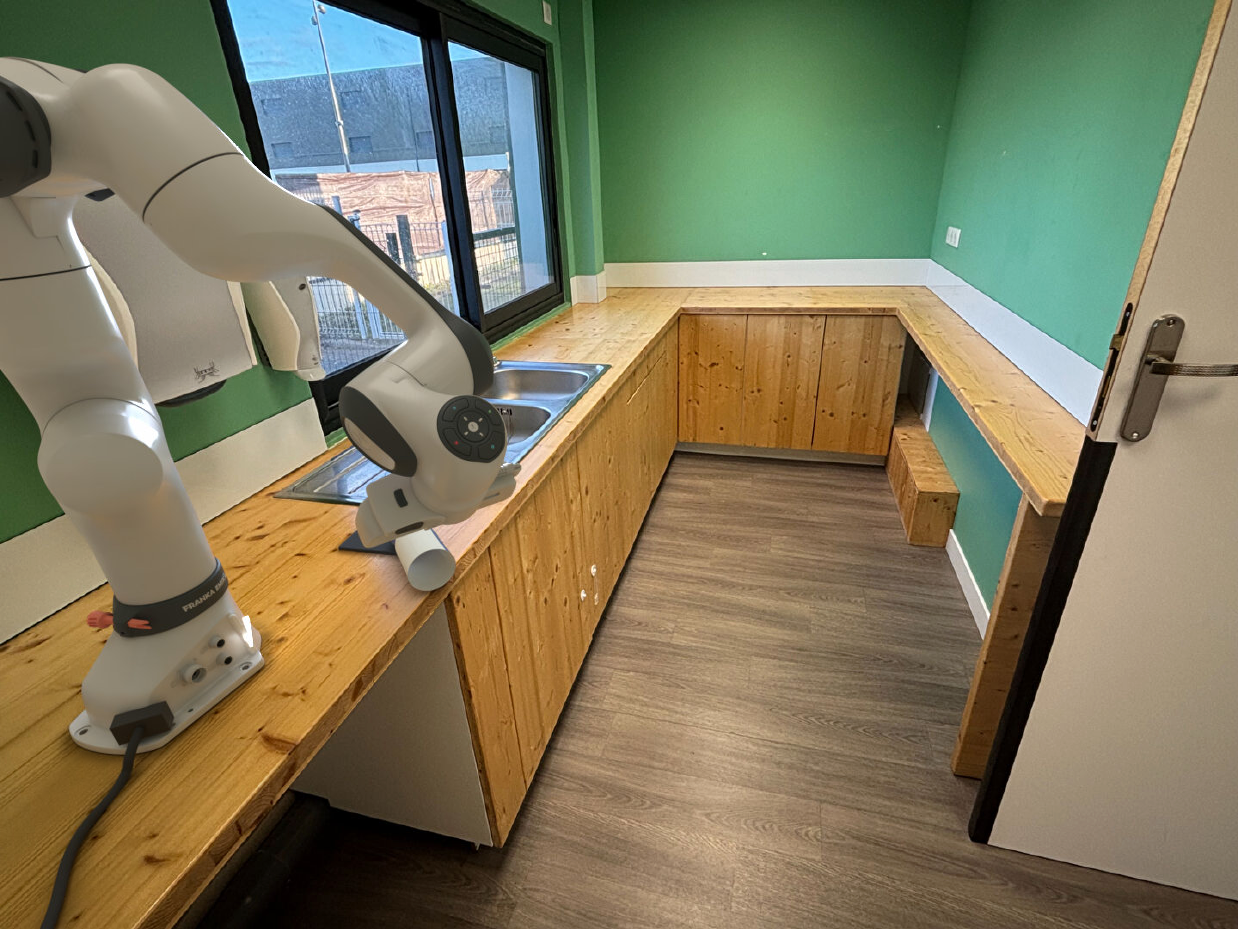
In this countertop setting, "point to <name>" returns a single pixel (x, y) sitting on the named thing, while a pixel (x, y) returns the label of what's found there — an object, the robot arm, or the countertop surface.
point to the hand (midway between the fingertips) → (432, 522)
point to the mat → (356, 545)
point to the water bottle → (425, 559)
